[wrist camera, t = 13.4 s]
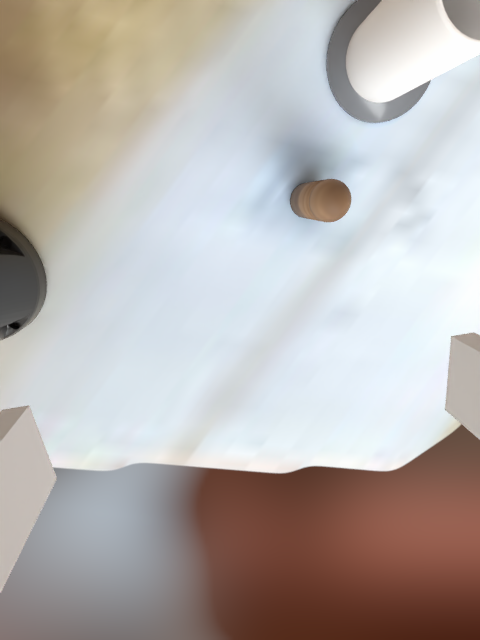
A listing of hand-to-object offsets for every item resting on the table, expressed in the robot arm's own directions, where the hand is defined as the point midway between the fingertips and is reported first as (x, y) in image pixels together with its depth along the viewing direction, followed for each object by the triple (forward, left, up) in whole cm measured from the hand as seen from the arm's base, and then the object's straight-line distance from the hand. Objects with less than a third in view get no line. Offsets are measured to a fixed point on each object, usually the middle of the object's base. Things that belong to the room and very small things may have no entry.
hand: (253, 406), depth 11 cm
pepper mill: (+10, +7, -35) cm, 37 cm away
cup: (+16, +22, -34) cm, 44 cm away
